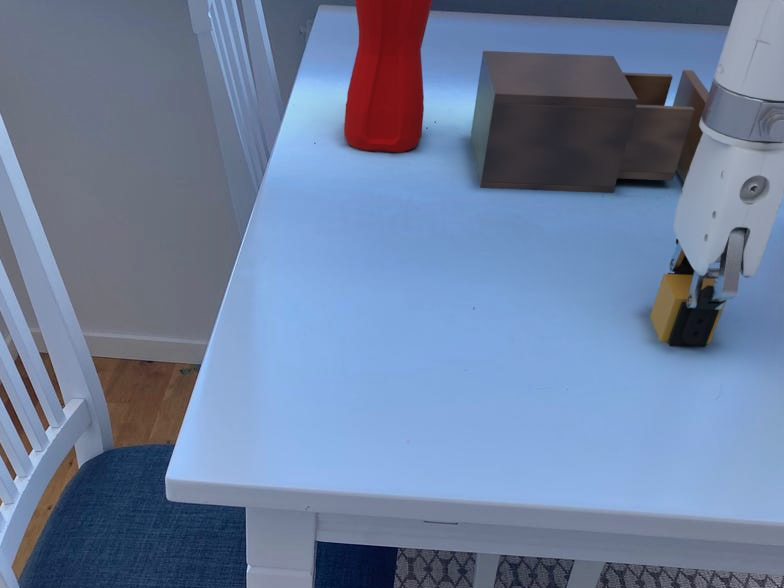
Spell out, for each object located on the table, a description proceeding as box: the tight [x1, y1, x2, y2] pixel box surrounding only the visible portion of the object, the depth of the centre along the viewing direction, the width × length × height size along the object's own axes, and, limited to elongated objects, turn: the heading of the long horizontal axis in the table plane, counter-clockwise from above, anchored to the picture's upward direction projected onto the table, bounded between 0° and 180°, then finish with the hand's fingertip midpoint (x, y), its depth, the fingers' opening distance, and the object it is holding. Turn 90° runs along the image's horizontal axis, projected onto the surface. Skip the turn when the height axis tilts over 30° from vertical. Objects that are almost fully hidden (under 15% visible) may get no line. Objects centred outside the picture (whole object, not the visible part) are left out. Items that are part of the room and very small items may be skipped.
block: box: [649, 273, 727, 345], centre depth 83 cm, size 4×4×4 cm
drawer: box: [617, 69, 709, 184], centre depth 105 cm, size 18×13×8 cm
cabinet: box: [469, 50, 638, 194], centre depth 105 cm, size 15×14×10 cm
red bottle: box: [343, 0, 434, 154], centre depth 105 cm, size 9×11×25 cm
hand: (679, 329), depth 85 cm, fingers closed on block, 4 cm apart
